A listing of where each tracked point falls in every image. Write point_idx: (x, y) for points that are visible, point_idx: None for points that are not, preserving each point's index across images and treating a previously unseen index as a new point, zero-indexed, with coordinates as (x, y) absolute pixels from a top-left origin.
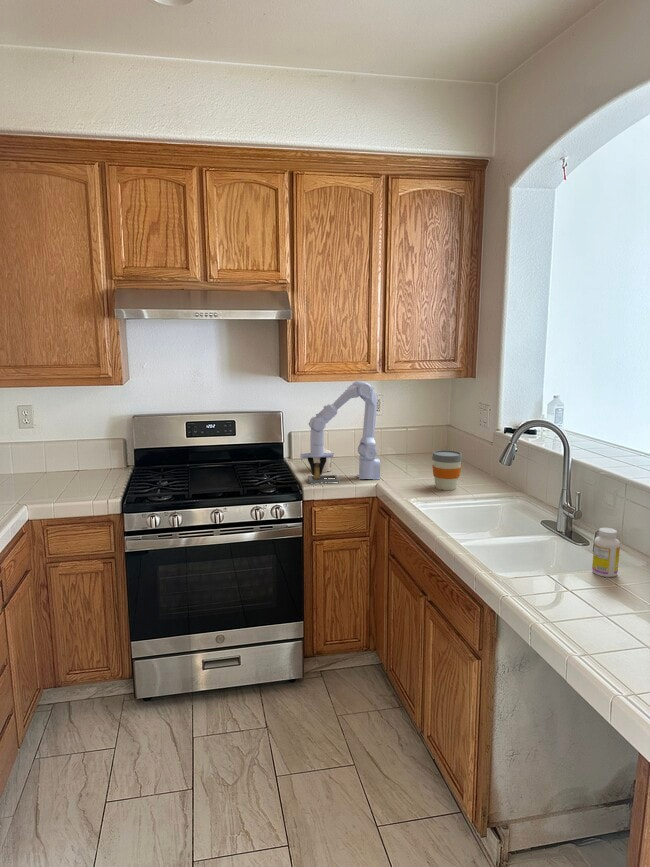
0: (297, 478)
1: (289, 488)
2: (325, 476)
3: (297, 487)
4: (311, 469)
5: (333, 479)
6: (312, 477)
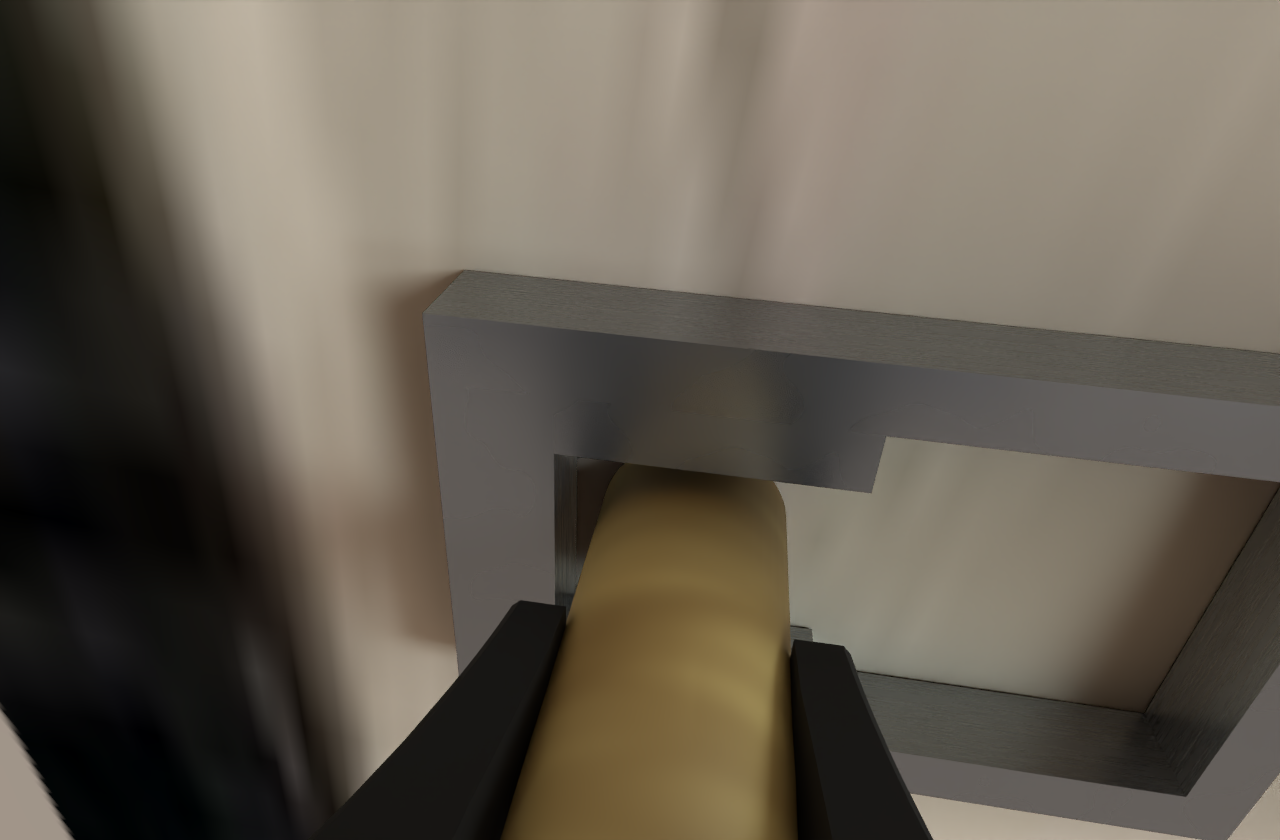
0: (137, 92)
1: (154, 773)
2: (1037, 440)
3: (276, 764)
4: (445, 722)
5: (1090, 801)
6: (576, 445)
